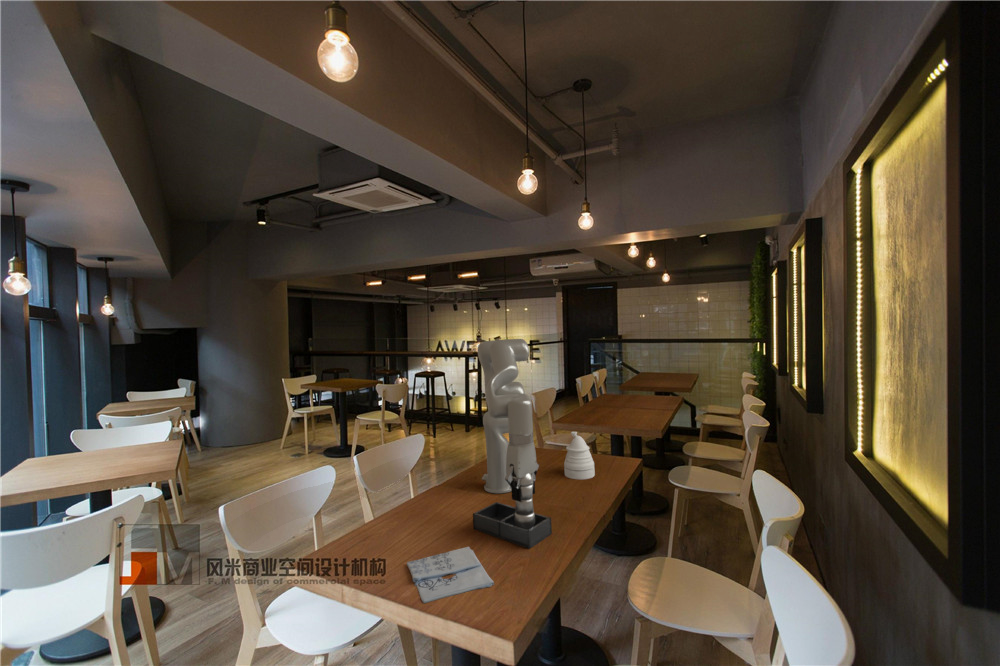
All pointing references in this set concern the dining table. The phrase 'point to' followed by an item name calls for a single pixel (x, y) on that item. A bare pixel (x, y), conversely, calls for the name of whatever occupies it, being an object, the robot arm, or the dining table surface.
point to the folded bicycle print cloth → (437, 566)
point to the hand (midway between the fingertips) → (523, 496)
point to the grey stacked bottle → (525, 504)
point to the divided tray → (510, 525)
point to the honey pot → (578, 460)
